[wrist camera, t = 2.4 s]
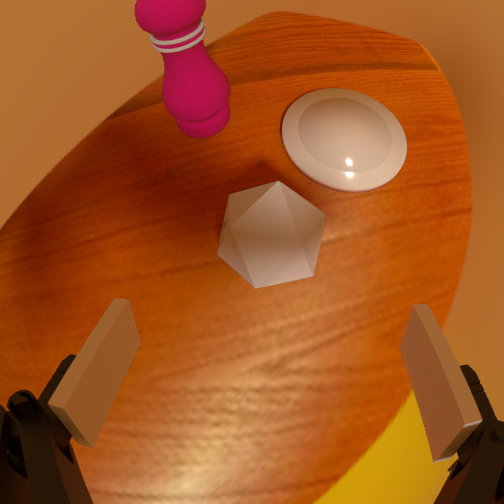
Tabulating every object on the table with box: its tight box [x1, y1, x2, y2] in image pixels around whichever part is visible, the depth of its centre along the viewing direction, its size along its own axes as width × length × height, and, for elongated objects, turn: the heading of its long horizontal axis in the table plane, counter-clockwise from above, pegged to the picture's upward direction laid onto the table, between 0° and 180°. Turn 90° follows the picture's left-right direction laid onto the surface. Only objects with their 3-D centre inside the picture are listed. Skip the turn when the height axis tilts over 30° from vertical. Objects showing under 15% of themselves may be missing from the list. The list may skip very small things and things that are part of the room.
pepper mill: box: [135, 0, 230, 138], centre depth 26 cm, size 7×7×20 cm
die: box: [217, 181, 327, 289], centre depth 27 cm, size 8×9×10 cm
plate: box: [282, 88, 407, 193], centre depth 33 cm, size 14×14×1 cm
